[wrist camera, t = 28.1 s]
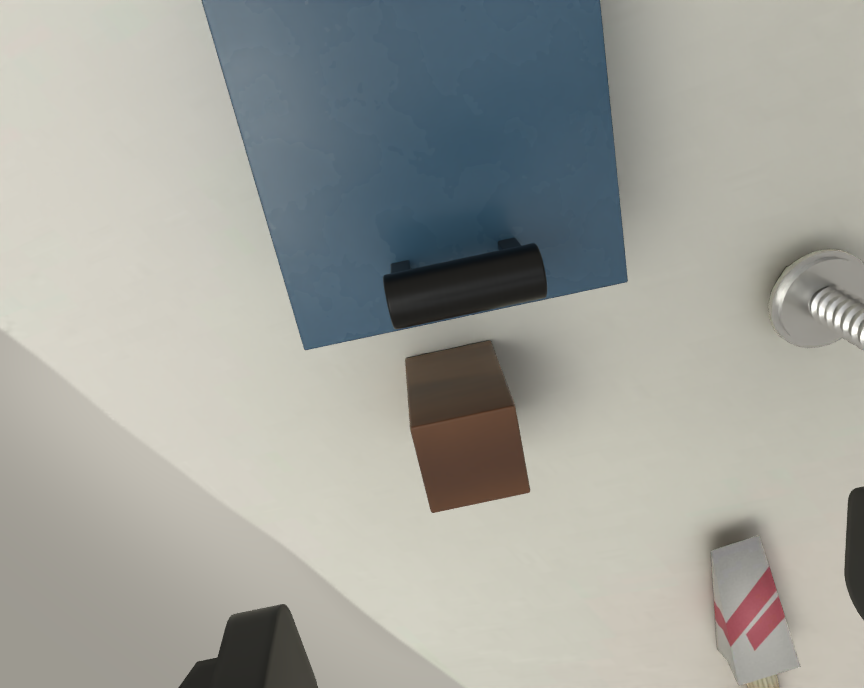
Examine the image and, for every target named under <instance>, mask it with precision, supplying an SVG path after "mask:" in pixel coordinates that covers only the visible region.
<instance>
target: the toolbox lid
mask: <svg viewBox="0 0 864 688" xmlns="http://www.w3.org/2000/svg"><path fill="white" fill-rule="evenodd" d="M202 4H203V7H204V10H205V14H206V17H207V21H208V24H209V27H210V31H211V34H212V38H213V41H214V44H215V48H216V51H217V55H218V58H219V61H220V65H221V68H222V72H223V75H224V78H225V82H226V85H227V89H228V92H229V95H230V99H231V102H232V106H233V109H234V112H235V116H236V119H237V123H238V126H239V129H240V133H241V136H242V140H243V143H244V146H245V150H246V153H247V157H248V160H249V163H250V167H251V170H252V174H253V177H254V180H255V184H256V187H257V190H258V194H259V197H260V201H261V204H262V207H263V211H264V214H265V218H266V221H267V224H268V228H269V231H270V235H271V238H272V241H273V245H274V248H275V252H276V255H277V258H278V262H279V265H280V269H281V272H282V275H283V279H284V282H285V286H286V289H287V292H288V296H289V299H290V303H291V306H292V309H293V313H294V316H295V320H296V323H297V326H298V330H299V333H300V337H301V340H302V343H303V347H304V349H305V350H309V349H313V348H318V347H323V346H328V345H332V344H337V343H342V342H346V341H351V340H356V339H361V338H365V337H370V336H375V335H380V334H384V333H389V332H394V331H398V330H403V329H408V328H413V327H417V326H422V325H427V324H431V323H436V322H441V321H446V320H450V319H455V318H460V317H465V316H469V315H474V314H479V313H483V312H488V311H493V310H498V309H502V308H507V307H512V306H516V305H521V304H526V303H531V302H535V301H540V300H545V299H549V298H554V297H559V296H564V295H568V294H573V293H578V292H583V291H587V290H592V289H597V288H601V287H606V286H611V285H616V284H620V283H625V282H627V281H628V278H627V268H626V258H625V248H624V238H623V228H622V217H621V207H620V197H619V187H618V177H617V167H616V157H615V147H614V137H613V127H612V117H611V106H610V96H609V86H608V76H607V66H606V56H605V46H604V36H603V26H602V16H601V5H600V0H202Z"/></svg>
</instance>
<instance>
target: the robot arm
mask: <svg viewBox="0 0 864 688" xmlns="http://www.w3.org/2000/svg"><path fill="white" fill-rule="evenodd" d="M844 572H845V581H846V586H847V589H848V592H849V595H850V598H851V600H852V602H853V604H854V606H855V608H856V610H857V611H858V613H859V614H860V616H861V617H862V619H863V620H864V487H859V488H855V489H854V490H852V491H851V493H850V495H849V498H848V511H847V530H846V550H845V569H844ZM179 688H318V686H317V682H316V679H315V676H314V673H313V670H312V668H311V665H310V662H309V660H308V657H307V654H306V652H305V649H304V646H303V644H302V641H301V638H300V636H299V633H298V630H297V627H296V625H295V622H294V619H293V617H292V614H291V612H290V610H289V608H288V607H287V606H286V605H285V604H281V605H277V606H272V607H267V608H262V609H257V610H252V611H247V612H242V613H237V614H234V615H231V617H230V618H229V620H228V622H227V625H226V628H225V632H224V635H223V639H222V643H221V647H220V650H219V654H218V658H213V659H209V660H204V661H199V662H197V663H196V664H195V666H194V667H193V668H192V670H191V671H190V672H189V674H188V675H187V677H186V678H185V679H184V681H183V682H182V684H181V685H180V686H179Z"/></svg>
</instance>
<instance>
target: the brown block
mask: <svg viewBox="0 0 864 688" xmlns="http://www.w3.org/2000/svg"><path fill="white" fill-rule="evenodd" d="M405 366H406V379H407V393H408V407H409V421H410V430H411V434H412V438H413V442H414V446H415V450H416V454H417V458H418V462H419V466H420V470H421V474H422V478H423V482H424V486H425V490H426V494H427V498H428V502H429V506H430V510H431V512H432V513H435V512H440V511H444V510H449V509H454V508H459V507H463V506H468V505H473V504H478V503H482V502H487V501H492V500H497V499H501V498H506V497H511V496H516V495H520V494H525V493H529V492H530V486H529V481H528V475H527V469H526V464H525V458H524V452H523V447H522V441H521V436H520V430H519V424H518V419H517V413H516V408H515V404H514V402H513V399H512V396H511V394H510V391H509V388H508V386H507V383H506V380H505V377H504V375H503V372H502V369H501V367H500V364H499V361H498V359H497V356H496V353H495V351H494V348H493V345H492V343H491V341H484V342H480V343H475V344H470V345H466V346H461V347H456V348H452V349H447V350H442V351H438V352H433V353H429V354H424V355H419V356H415V357H410V358H406V359H405Z"/></svg>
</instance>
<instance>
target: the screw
mask: <svg viewBox="0 0 864 688" xmlns="http://www.w3.org/2000/svg"><path fill="white" fill-rule="evenodd" d="M771 292H772V293H771V296H770V299H769V308H768V312H769V319H770V322H771V324H772V327H773V329H774V330H775V331H776V332H777V334H778V335H779V336H780V337H782V338H783V339H784V340H786V341H787V342H789V343H790V344H793V345H795V346H798V347H805V348H815V347H822V346H825V345H829V344H831V343H833V342H836V341H838V340H840V339H841V338H843V339H846V340H847V341H848V342H850V343H851V344H853V345H856V346H857V347H858V348H859V349H861V350H864V263H863V262H862V261H861V260H860V259H859V258H857V257H856V256H854V255H852V254H850V253H848V252H844V251H841V250H833V249H826V250H820V251H815V252H813V253H810V254H808V255H805V256H803V257H802V258H800V259H798V260H797V261H795V262H794V263H793V264H792V265H790V266H786V268H785V269H784V271H783V273H782V274H781V276H780V277H779V279H778V280H777V282H776V284H775V286H774V287H773V289H772V290H771Z"/></svg>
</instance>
